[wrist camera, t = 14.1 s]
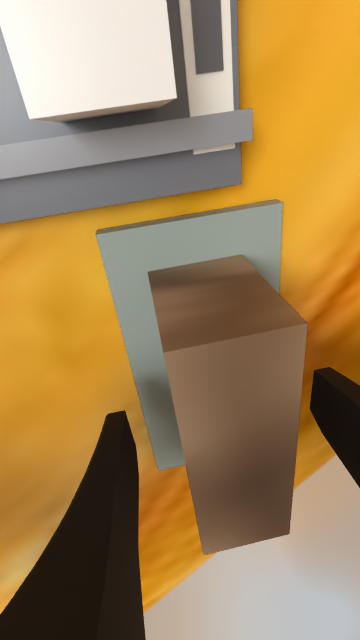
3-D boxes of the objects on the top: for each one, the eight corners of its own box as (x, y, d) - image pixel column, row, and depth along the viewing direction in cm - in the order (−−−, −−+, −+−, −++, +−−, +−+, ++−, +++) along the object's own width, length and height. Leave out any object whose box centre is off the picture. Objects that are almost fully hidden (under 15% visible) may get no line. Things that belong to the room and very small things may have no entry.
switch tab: (60, 122, 8) (29, 119, 5) (14, -46, 7) (-64, -177, 4) (157, 108, 8) (177, 98, 6) (134, -59, 7) (145, -192, 4)
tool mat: (157, 461, 18) (158, 470, 18) (96, 230, 11) (95, 234, 11) (269, 436, 19) (273, 444, 18) (275, 199, 12) (282, 202, 11)
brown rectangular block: (182, 448, 17) (203, 555, 13) (147, 271, 12) (163, 352, 8) (247, 433, 17) (289, 533, 13) (241, 254, 12) (307, 323, 8)
